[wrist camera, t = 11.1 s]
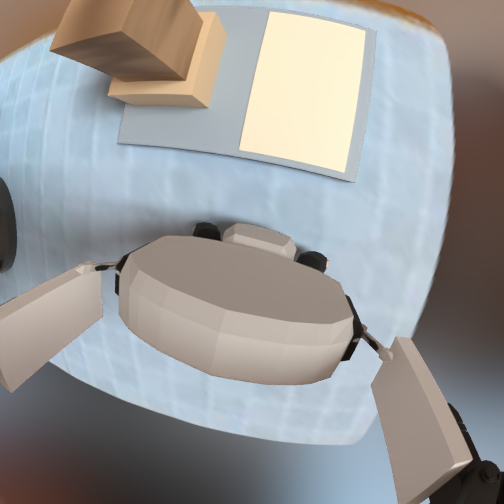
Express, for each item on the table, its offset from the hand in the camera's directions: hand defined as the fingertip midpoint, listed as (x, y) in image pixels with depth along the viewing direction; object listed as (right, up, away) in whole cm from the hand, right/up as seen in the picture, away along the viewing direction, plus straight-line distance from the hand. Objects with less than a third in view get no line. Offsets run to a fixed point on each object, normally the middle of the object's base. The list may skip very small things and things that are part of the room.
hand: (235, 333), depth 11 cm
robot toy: (+1, +4, +12) cm, 13 cm away
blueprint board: (0, +17, +8) cm, 19 cm away
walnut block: (-6, +17, +4) cm, 19 cm away
